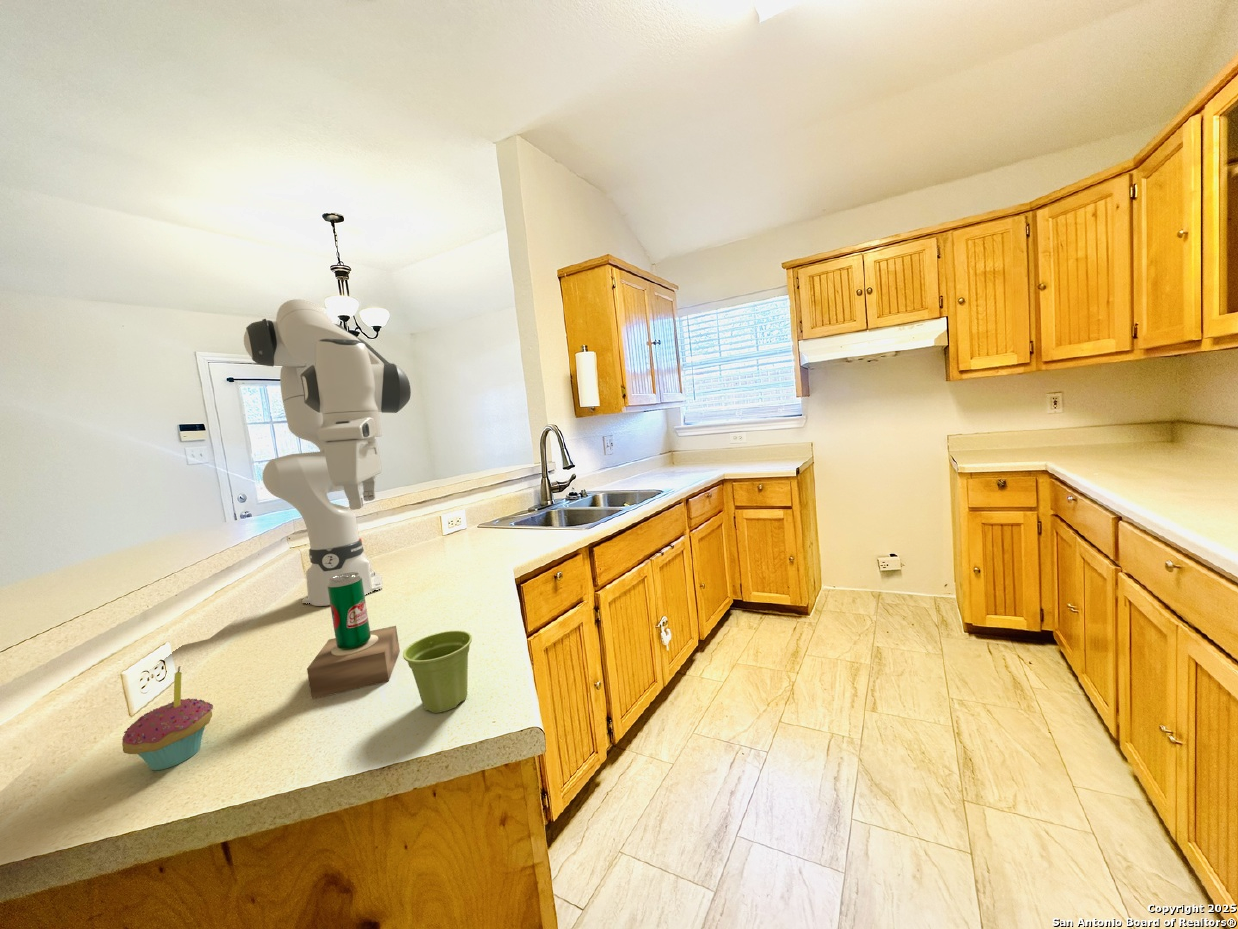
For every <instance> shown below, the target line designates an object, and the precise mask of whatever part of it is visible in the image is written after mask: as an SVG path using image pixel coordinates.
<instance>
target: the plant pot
mask: <svg viewBox="0 0 1238 929" xmlns="http://www.w3.org/2000/svg"><path fill="white" fill-rule="evenodd" d="M472 640H473V636H472V634H471V633H470V632H468V631H465V630H446V631H440V632H437V633H434V634H430V635H427V636H424V637H422V638H420V639H418V640H416V641H414V642H412V643H411V644H409V645H408V646H407V647H406V648H405V649H404V650H403V654H402V656H403V659H404V661H405V662H407V665H408V667H409V669H411V671H412V674H413V677H414V680H415V683H416V688H417V690H418V693H419V696H420V700H421V703H422V707H423V709H424V711H426V712H427V711H430V712H432V713H442V712H443V713H444V712H447V711H449V710H452V709H454V708H456V707H457V706H458V705H459V704H460V703H461V702H463V701H465V700H466V699H467V697H468V679H469V678H468V674H469V672H468V669H469V666H468V665H469V652H470V645H471V643H472Z"/></svg>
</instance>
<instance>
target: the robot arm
mask: <svg viewBox="0 0 1238 929" xmlns="http://www.w3.org/2000/svg"><path fill="white" fill-rule="evenodd" d="M245 328H246V329H245V332H244V334H243V345H244V348H245V351H246V352H247V353H248V355H249V357H251V359H252V362H255V364H257V365H261V366H263V367H264V366H266V367H272V368H273V367H274V366H280V367H281V368H280V375H279V376H280V377H279V378H280V379H279V381H280V382H279V383H280V393H281V400H282V405H283V409H284V415H285V418H286V423H287V428H288V430H289V431H290V432H291V434H293V435H294V436H296V437H297V438H299V439H301V440H305V441H307V442H310V443H312V444H314V445H315V446H316V447H317V448H318V450H319V451H311V452H302V453H291V454H287V455H282V456H279V457H275V458H272V459H270V460H269V461H268V462H267V463H266V465H264V469H263V472H262V481H263V482H262V483H263V485H264V487H265V489H266V490H267V491H268V492H269V493H270V495H271V494H272V496H274V497H276V498H279V499H281V500H282V501H285V502H287V503H288V504H290V505H291V506H292V507H294V508H295V509H296V510H297V512H298V513H299V514H300V516H301V518H302V519H303V522H304V524H305V528H306V531H307V537H308V540H309V547H310V548H309V549H308V552H309V554H308V557H309V560H310V563H311V565H310V567H308V569H307V570H306V572H305V576H306V577H305V579H306V588H307V589H306V590H307V596H306V597H304V598H302V604H303V603H306V604H307V603H308V604H307V605H312V606H315V607H316V606H317V607H318V606H319V607H322V606H330V600H329V594H328V584H329V582H330V581H329V579H330V578H332V577H334V576H337V575H340V574H345V573H351V572H357V573H359V576H360V577H361V578H362V581H363V588H364V594H365V596H367V595H368V593H369V592H371V591H374V590H376V589H380V588H382V587H383V576H381V575H382V573H376V572H375V571H373V567H372V562H371V559H370V558H369V557H368V556H367V555H366V554H365V553H364V551H365V550H364V544H363V539H362V537H359V529H358V528H359V527H358V524H357V523H358V522H357V515H356V513H355V512H354V510H360V509H362V508H363V507H364V503H363V501H364V502H371V501H374V500H376V478H377V476H379V475H380V474H381V473H382V462H381V455H380V451H379V446H378V442H377V438H378V437H382V436H383V434H382V428H381V421H380V413H382V414H386V413H387V414H397V413H398V412H399V411H401V410H402V409H403V408H404V407H405V406H406V405H407V404H408V403H409V401H410V399H411V391H412V390H411V383H410V381H409V378H408V376H407V374H406V373H405V371H404V370H403V369H401V367H399V366H398V365H396V364H395V363H394V362H392V363H391V362H389V361H388V360H386V359H385V358H384V357H383V356H382V354H380V353H379V352H377V351H376V350H375V349H374V348H373V347H372V346H371V345H370V344H369V343H368V342H366V341H365V340H364V339H362V338H360V337H358V336H356V335H354V334H352V333H350V332H348V330H346V328H345V327H343V326H342V325H341V324H337V323H334V322H333V321H332V320H331V317H329V316H328V315H327V313H325V311H324V310H322V309H321V308H320V307H318V306H317V305H316V304H314V303H312V302H311V301H308V300H304V299H301V298H298V299H296V298H295V299H291V300H290V299H289V300H286V302H283V303H282V304H281V305H280V307H279V308H278V310H277V313H276V319H275V320H267V319H266V318H263V319H262V320H258V321H254V322H251V323H250V324H249V325H247V326H246V327H245ZM361 487H362V490H363V492H362V494H361V491H360V490H361ZM341 491H343V492H344V493H345V496H346V498H347V500H348V505H349V507H348V506H344V505H340V504H336V503H334V502H333V503H332V502H331V501H330V499H329V498H328V494H329V493H333V492H334V493H335V492H341ZM362 496H363V497H362ZM381 577H382V578H381ZM382 589H383V588H382ZM380 590H381V589H380ZM371 593H372V592H371ZM366 594H367V595H366ZM369 594H370V593H369ZM309 603H310V604H309Z"/></svg>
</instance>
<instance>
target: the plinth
mask: <svg viewBox="0 0 1238 929" xmlns="http://www.w3.org/2000/svg"><path fill="white" fill-rule="evenodd" d="M370 634H371V637H370V639H369V641H368V642H367V643H366V644H365V645H363V646H361V647H358V648H355V649H352V650H341V649H339V648H338V647H337V644H336V638H329V639H328V640H327V641H326V643H325V644H324V646H322V648H321V649H320V651H319V652H318V654H317V655H316V656H315V658H314V659H313V660H312V662H311V663H310V664H309V665H308V667H307V668H306V672H307V677H308V684H309V689H310V695H311V700H315V699H318V698H324V697H327V696H331V695H336V694H341V693H345V692H349V691H352V690H353V691H354V690H356V689H361V688H365V687H370V686H375V685H378V684H383V683H386V682H389V681H390V679H391V676H392V674H393V671H394V668H395V666H396V663H397V661H398V658H399V655H400V651H401V650H400V643H399V637H398V630H397V625H393V626H388V627H384V628H379V629H374V630H370Z"/></svg>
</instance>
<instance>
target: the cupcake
mask: <svg viewBox="0 0 1238 929" xmlns="http://www.w3.org/2000/svg"><path fill="white" fill-rule="evenodd" d="M173 684H174V686H173V700H172V701H171V702H168V703H167V704H164V705H162V706H161V705H160V706H159V707H156V708H154V709H152V710H150V711H149V712H147V713H146V712H145V713H144V714H143V715H141V716H140V717H139V718H137V720H135V721H134V722H133V723H131V724H130V725H129V727H127V729H126V730H125V731H124V732H123V733H124V734H123V737H122V739H121V740H122V743H121V744H122V752H123V753H124V754H127V755H137V756H139V757H141V759H142V760H143V761H144V762H145V763H146V764H147V766H148V767H149V768H150V769H151V770H152V771H161V770H165V769H169V768H172V767H174V766H177V765H180V764H182V763H183V762H185V761H187V760H189V759H190V758H191V757H193V756H195V755H196V754H197V753H198V752H199V750H201V749H200V748H201V745H202V739H203V734H204V730H205V729H206V728H205V727H206V726H207V725H209V723H210V722H211V719H212V717H213V711H212V710H213V709H214V704H212V703H210V702H209V701H205V700H203V699H198V698H185V699H183V698H182V671H181V666H180V665H179V666H178V668H177V672H175V673H174V682H173Z"/></svg>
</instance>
